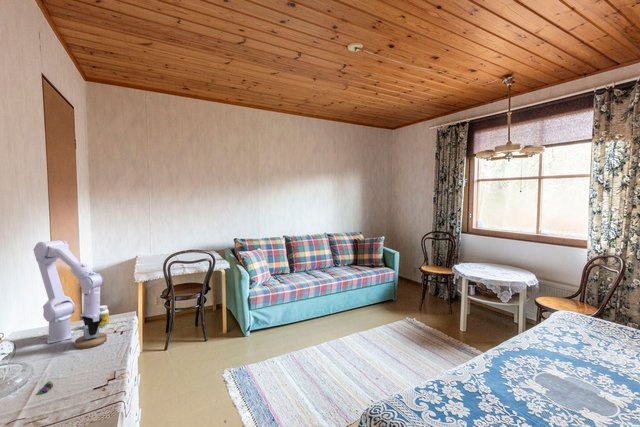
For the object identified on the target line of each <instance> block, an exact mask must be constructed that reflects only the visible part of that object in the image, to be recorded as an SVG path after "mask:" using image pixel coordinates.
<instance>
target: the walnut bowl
mask: <svg viewBox="0 0 640 427" xmlns="http://www.w3.org/2000/svg"><path fill="white" fill-rule="evenodd" d="M104 342H105V343H106V342H107V333H104V332H99V336H98V337H94V338H90V339H85V337H84V336H83V335H81V336H78V338H75V341H74V348H75V349H79V350H87V349H88V350H89V349H93V348H96V347H99V346H101V345H104Z"/></svg>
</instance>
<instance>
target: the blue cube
mask: <svg viewBox="0 0 640 427" xmlns="http://www.w3.org/2000/svg"><path fill="white" fill-rule="evenodd" d="M99 333H100V327H99V326H98V329H97V332H96V334H95V335H91V336H90V335H89V330H88V326H87V325H86V326H85V325H83V335H82V336H84V337H85V339H90V338H94V337H98V336H99Z"/></svg>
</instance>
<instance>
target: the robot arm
mask: <svg viewBox="0 0 640 427" xmlns="http://www.w3.org/2000/svg"><path fill="white" fill-rule="evenodd" d="M33 253H34V254H33V255H34V258H35V260H36V262H37V265H38V268H39V272H40V275H41V278H42V282H43V285H44V286H43V287H44V289H45V292H46V295H47V298H48V300H47V301H46V303H45V304H43V306H42V308H43V314H42V315H43V318H44V320H46V322H48V334H47V336H46V339H47V340H46V342H47V344H54V343H57V342H63V341H67V340H72V338H73V337H72V331H71V317H72V316H73V314H74V313H75V311H76V304H75V303H74V301H73V300H72V297H70V296H68V295H65V292H64V289H63V286H62V282H61V279H60V275H59V273H58V269H57V265H56V261H57V260H58V259H60V260H61V261H62V262H64V263H65V264H66V265H68V267H70V273H71V274H72V275H73V276H74V277H75V278H76V279H77V280H78V281H79V285H80V288H81V290H82V291H81V292H82V294H83V300H82V301H83V310H82V313H80V314H79V317H81V319H82V321H83V324H84V326H86V325H87V326H88V330H89V335H90V336H91V335H95V334H96V332H97V329H98V326H99V324H100V322H101V321H102V318H99V315H100V306H101V286H103V285H104V283H105V278H104V276H103V274H101V273H98V272H94V271H93V270H92V269H91V268H90V267H89V265H88V264H87V263H86V262H80V261H79V260H78V259H77V257H76V256H75V255H74V254H73V252H72V251H71V250H70V244H69V243H67V241H66V240H64V239H58V240H57V239H55V240H50V241H39V242H37V243H36V244H35V245H34V247H33Z"/></svg>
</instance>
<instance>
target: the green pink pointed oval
mask: <svg viewBox="0 0 640 427" xmlns="http://www.w3.org/2000/svg"><path fill="white" fill-rule="evenodd" d="M53 387H54V383H53V381H47V382H46V383H45V384H44V385H43V387H41V389H40V390H39V391H38V392H37V393H36V394H35V396H42V395H44V394H47V393H48V392H50V390H51V389H52V388H53Z"/></svg>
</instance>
